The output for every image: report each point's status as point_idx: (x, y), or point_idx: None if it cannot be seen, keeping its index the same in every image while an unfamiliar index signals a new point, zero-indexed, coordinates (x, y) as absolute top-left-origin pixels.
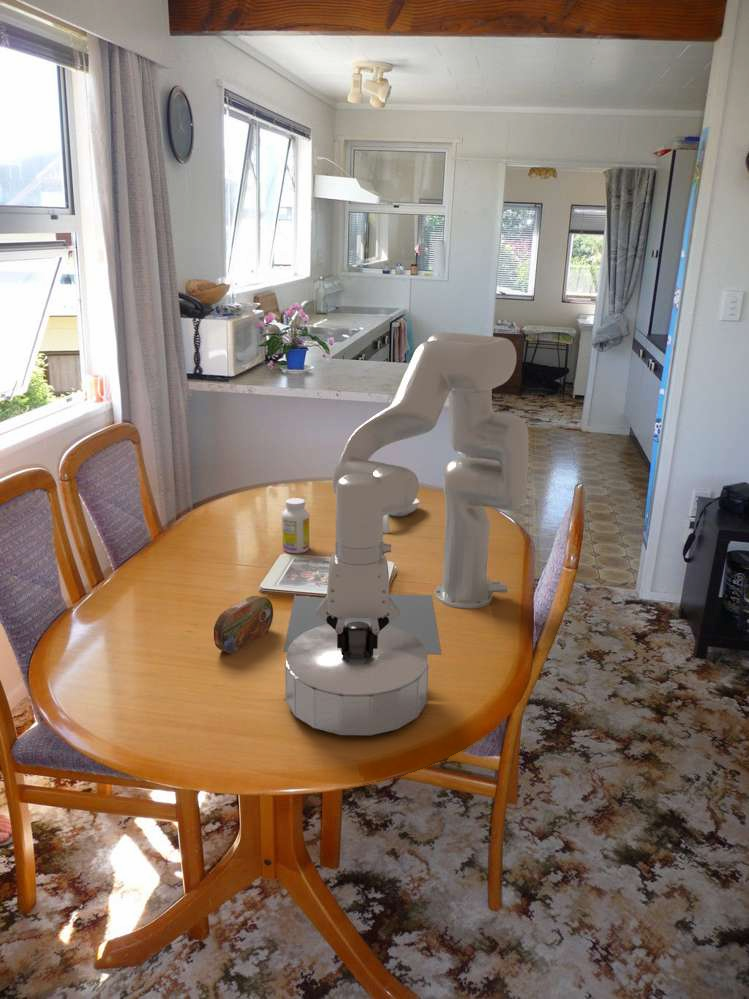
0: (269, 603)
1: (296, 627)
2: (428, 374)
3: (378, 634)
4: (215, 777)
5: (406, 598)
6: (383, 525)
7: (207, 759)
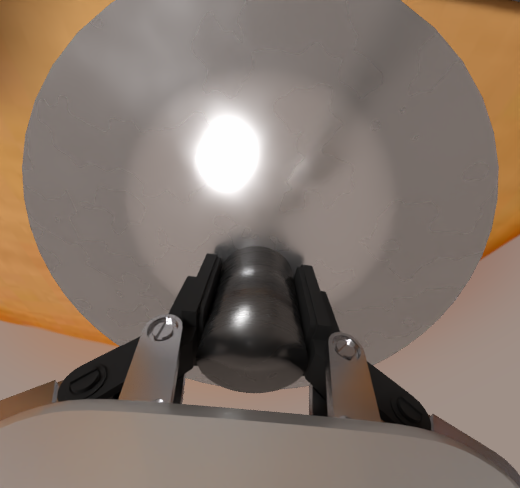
0: None
1: None
2: None
3: (363, 157)
4: (92, 337)
5: None
6: None
7: (68, 314)
